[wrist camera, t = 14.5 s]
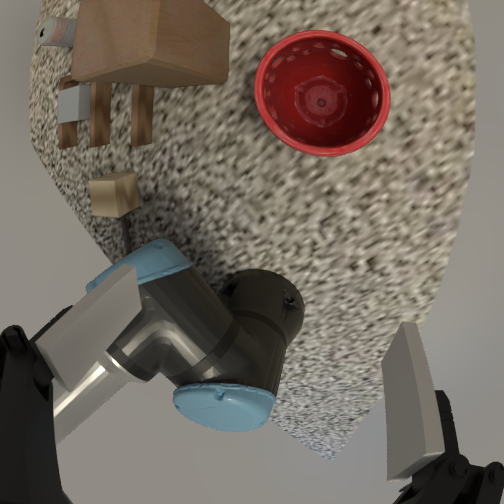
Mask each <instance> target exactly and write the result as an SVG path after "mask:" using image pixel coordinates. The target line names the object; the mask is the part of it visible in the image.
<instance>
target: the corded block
mask: <svg viewBox="0 0 504 504" xmlns="http://www.w3.org/2000/svg"><path fill="white" fill-rule="evenodd" d="M89 189H90V197H91V204H92V211H93V215H95V216H106V217H116V218H119V217H121V221H122V228H123V234H124V241H125V247H126V253H127V255H129V254H130V253H132V252H131V246H130V239H129V232H128V225H127V218H126V213H128V212H130V211H132V210H133V209H135V208H137V207H139V196H138V184H137V172H129V173H109V174H106V175H103V176H101V177H98V178H95V179H92V180H90V181H89Z"/></svg>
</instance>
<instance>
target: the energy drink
mask: <svg viewBox="0 0 504 504" xmlns="http://www.w3.org/2000/svg"><path fill="white" fill-rule="evenodd" d="M76 22H77V20H73V19H68V18H62V17H55V16H54V17H49V18H47V19H45V20H44V22H43V23H42V24H41V26H40V28H39V30H38V33H37V39H36V40H37V43H38V44H40V45H42V46H58V47H70V48H73V44H74V36H75V29H76Z"/></svg>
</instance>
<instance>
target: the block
mask: <svg viewBox="0 0 504 504" xmlns="http://www.w3.org/2000/svg"><path fill="white" fill-rule="evenodd" d="M90 97H91V85H79V86H75V87H72V88H68V89H65V90H62V91H59V93H58V124H59V123H65V122H72V121H79V120H86V119H90Z"/></svg>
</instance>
